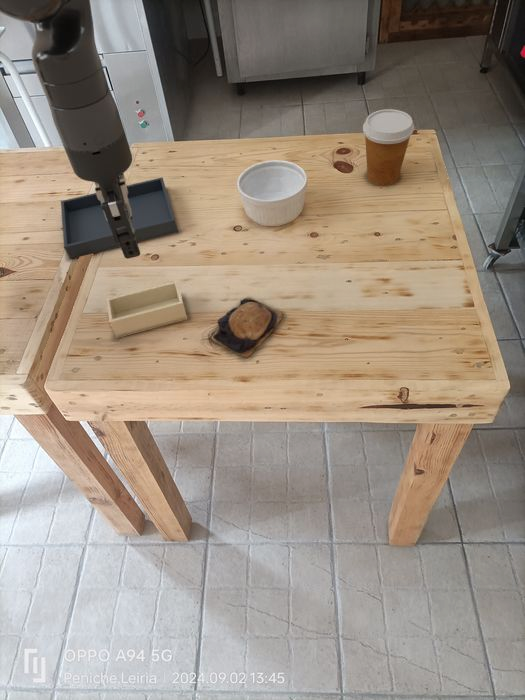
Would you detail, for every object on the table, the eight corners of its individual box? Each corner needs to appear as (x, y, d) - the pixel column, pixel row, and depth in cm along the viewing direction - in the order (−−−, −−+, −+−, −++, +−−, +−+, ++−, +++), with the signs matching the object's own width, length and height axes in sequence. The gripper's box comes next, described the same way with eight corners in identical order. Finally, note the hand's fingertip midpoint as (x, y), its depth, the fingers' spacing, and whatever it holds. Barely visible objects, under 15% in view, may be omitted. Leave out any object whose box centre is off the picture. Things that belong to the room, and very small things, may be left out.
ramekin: (240, 233, 102) (236, 203, 96) (241, 192, 110) (237, 162, 104) (310, 228, 101) (309, 197, 95) (305, 187, 109) (304, 156, 104)
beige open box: (116, 338, 88) (109, 322, 84) (113, 315, 91) (106, 298, 88) (187, 319, 89) (182, 302, 86) (181, 297, 92) (176, 280, 89)
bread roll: (246, 298, 91) (244, 282, 88) (287, 317, 87) (285, 302, 84) (206, 338, 86) (202, 323, 83) (247, 361, 82) (245, 345, 79)
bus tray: (69, 259, 101) (63, 247, 99) (66, 213, 110) (60, 200, 108) (178, 232, 103) (175, 219, 101) (165, 189, 113) (162, 177, 110)
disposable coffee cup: (368, 194, 106) (372, 138, 96) (353, 168, 112) (356, 113, 102) (413, 185, 106) (423, 128, 97) (397, 160, 112) (404, 104, 103)
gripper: (58, 110, 68) (99, 214, 81) (63, 170, 59) (108, 276, 72) (116, 98, 69) (147, 203, 81) (129, 154, 60) (162, 262, 73)
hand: (129, 237), depth 77 cm, fingers open, 8 cm apart
